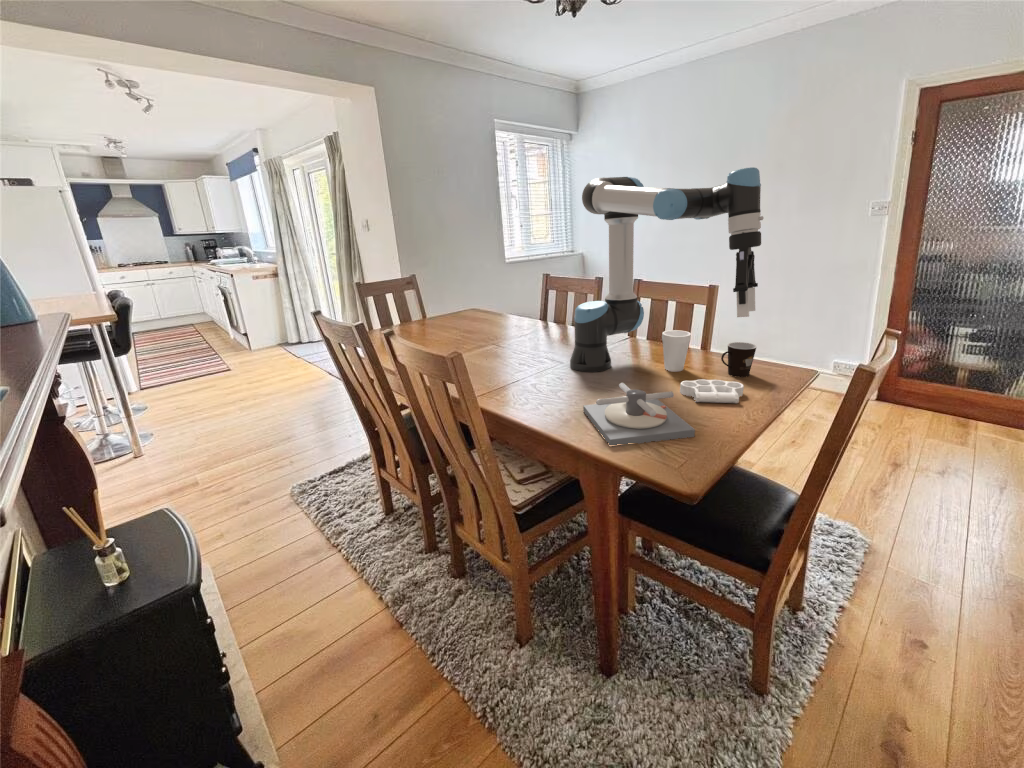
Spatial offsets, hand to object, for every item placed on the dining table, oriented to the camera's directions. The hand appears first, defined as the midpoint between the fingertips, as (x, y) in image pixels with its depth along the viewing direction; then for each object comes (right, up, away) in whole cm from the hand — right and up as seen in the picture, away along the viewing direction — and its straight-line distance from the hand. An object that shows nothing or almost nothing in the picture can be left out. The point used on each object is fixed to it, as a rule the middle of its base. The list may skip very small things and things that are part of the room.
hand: (746, 314), depth 124 cm
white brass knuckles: (-3, -23, +16) cm, 28 cm away
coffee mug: (+12, -16, +31) cm, 37 cm away
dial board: (-31, -30, -1) cm, 42 cm away
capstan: (-31, -27, -1) cm, 41 cm away
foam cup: (-6, -14, +40) cm, 42 cm away
